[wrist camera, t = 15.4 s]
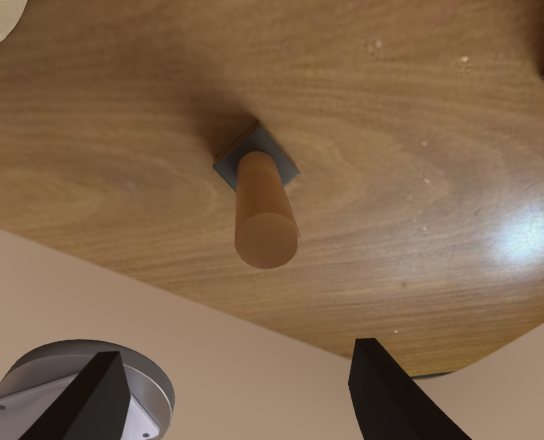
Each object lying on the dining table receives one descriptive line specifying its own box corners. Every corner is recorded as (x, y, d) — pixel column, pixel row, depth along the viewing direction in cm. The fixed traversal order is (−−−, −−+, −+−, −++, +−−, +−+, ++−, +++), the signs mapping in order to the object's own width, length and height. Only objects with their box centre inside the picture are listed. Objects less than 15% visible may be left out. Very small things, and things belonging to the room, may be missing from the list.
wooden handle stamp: (252, 199, 19) (261, 301, 11) (214, 158, 18) (191, 238, 10) (296, 165, 18) (339, 246, 10) (259, 119, 17) (276, 171, 9)
